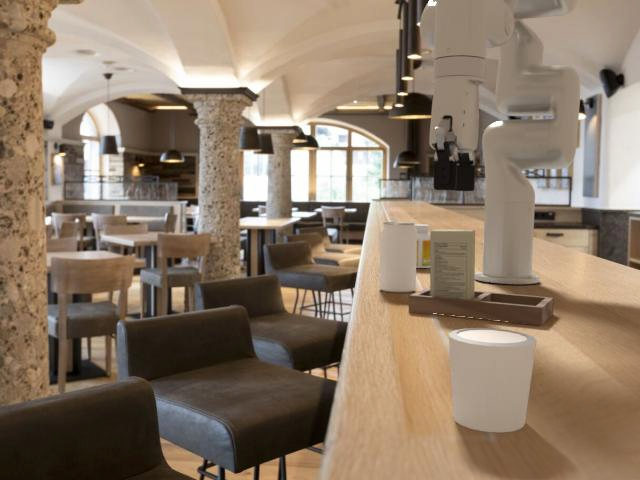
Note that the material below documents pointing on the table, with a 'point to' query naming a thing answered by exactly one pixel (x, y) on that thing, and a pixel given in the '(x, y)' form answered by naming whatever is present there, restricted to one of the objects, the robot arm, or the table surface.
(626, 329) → the table surface
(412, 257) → the can
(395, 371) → the table surface
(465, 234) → the skincare box
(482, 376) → the white tapered cup
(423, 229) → the supplement bottle
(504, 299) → the divided wooden tray
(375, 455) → the table surface
